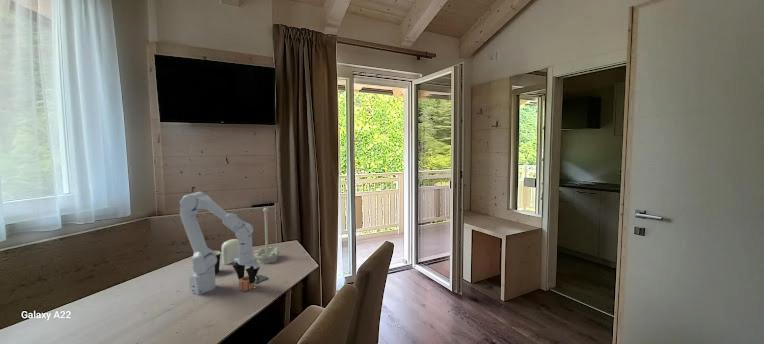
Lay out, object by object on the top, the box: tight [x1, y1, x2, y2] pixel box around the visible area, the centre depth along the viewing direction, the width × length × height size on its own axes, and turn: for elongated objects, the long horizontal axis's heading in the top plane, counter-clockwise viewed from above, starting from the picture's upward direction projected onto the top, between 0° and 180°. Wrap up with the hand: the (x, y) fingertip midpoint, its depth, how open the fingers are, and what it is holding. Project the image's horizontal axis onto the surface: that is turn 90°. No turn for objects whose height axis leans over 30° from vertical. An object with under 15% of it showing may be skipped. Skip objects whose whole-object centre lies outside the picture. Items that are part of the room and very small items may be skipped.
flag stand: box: [254, 207, 280, 264], centre depth 175 cm, size 13×13×30 cm
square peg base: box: [254, 271, 269, 285], centre depth 148 cm, size 7×7×4 cm
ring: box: [238, 275, 255, 292], centre depth 139 cm, size 6×6×4 cm
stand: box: [235, 284, 259, 294], centre depth 140 cm, size 7×7×4 cm
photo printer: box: [220, 238, 239, 266], centre depth 173 cm, size 10×4×12 cm, turn 160°
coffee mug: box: [212, 250, 222, 275], centre depth 158 cm, size 12×9×10 cm
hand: (246, 280), depth 139 cm, fingers open, 7 cm apart
